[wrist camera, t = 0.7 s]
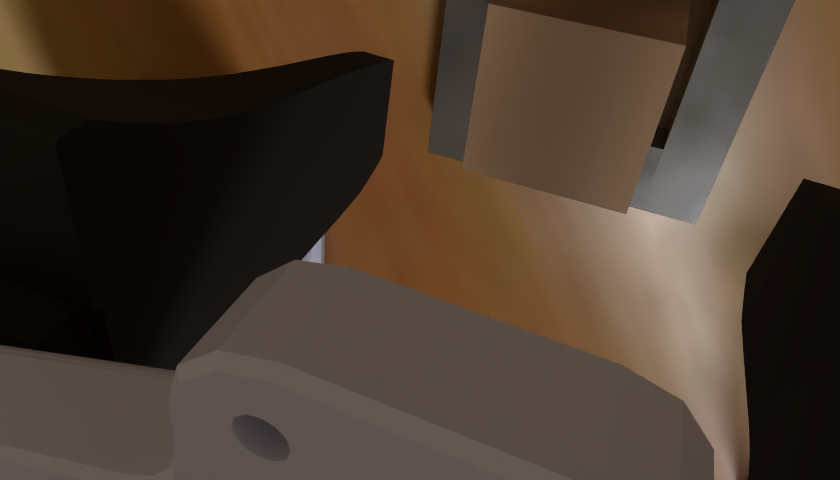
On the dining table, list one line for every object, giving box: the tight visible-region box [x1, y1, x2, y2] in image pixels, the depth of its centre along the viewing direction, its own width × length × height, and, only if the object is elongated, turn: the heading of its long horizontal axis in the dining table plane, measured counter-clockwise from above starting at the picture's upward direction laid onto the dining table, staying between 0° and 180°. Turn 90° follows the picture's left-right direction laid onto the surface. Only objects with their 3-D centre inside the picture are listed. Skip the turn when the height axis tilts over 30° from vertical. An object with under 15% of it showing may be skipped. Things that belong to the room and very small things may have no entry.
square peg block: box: [462, 0, 691, 214], centre depth 17 cm, size 4×4×7 cm
